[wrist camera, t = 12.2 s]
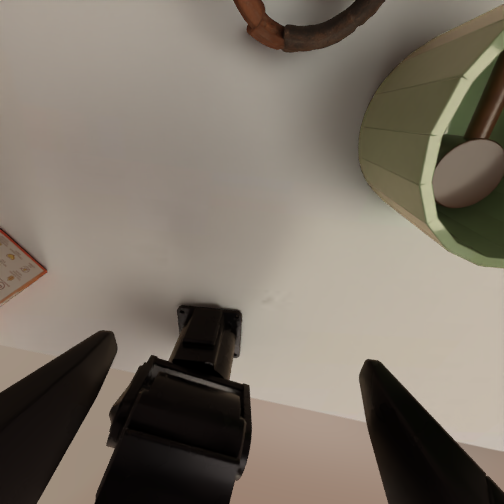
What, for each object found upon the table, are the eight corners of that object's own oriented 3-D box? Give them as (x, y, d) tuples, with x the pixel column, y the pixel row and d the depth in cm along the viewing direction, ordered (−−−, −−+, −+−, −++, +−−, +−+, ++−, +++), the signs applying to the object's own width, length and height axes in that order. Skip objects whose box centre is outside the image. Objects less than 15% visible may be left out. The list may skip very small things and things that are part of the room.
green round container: (482, 214, 19) (620, 279, 11) (340, 202, 19) (383, 257, 12) (579, 35, 14) (945, -62, 6) (384, 23, 14) (509, -81, 7)
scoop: (449, 195, 18) (485, 211, 15) (394, 190, 18) (419, 205, 15) (512, 57, 14) (577, 41, 11) (442, 53, 14) (488, 36, 11)
